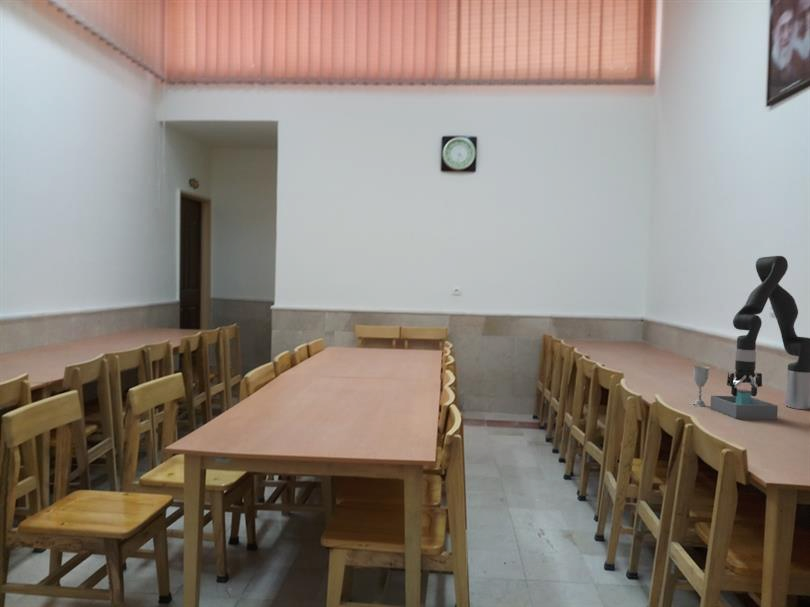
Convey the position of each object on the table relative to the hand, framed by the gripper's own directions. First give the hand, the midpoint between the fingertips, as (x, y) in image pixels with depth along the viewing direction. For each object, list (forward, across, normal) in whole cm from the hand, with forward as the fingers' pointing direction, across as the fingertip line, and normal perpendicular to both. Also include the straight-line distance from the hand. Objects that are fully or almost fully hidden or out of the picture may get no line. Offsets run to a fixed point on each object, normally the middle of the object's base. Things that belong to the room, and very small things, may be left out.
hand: (743, 396), depth 238 cm
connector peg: (+7, 0, 0) cm, 7 cm away
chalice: (+8, +10, -16) cm, 21 cm away
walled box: (+8, 0, 0) cm, 8 cm away
